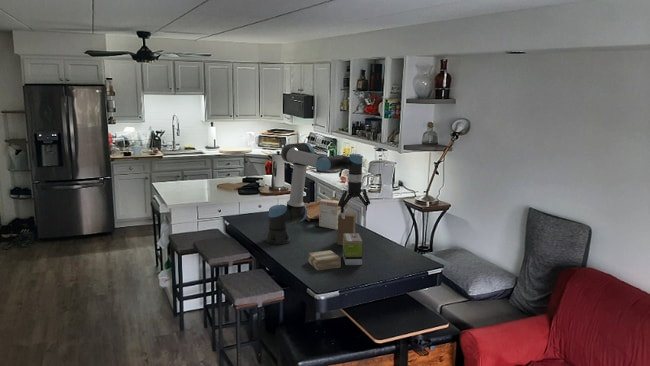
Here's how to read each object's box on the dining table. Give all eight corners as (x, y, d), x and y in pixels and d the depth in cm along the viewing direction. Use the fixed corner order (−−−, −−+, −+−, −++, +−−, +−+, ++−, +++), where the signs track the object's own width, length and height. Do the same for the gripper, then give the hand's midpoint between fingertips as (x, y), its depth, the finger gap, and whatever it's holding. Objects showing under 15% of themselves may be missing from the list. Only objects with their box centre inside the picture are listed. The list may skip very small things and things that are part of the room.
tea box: (341, 256, 302) (342, 232, 299) (358, 256, 303) (359, 232, 300) (345, 265, 288) (345, 240, 285) (362, 265, 288) (363, 240, 286)
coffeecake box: (341, 227, 363) (342, 201, 359) (336, 229, 357) (337, 203, 353) (323, 224, 370) (324, 198, 367) (318, 226, 364) (319, 200, 361)
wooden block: (352, 246, 321) (353, 216, 317) (337, 245, 323) (338, 215, 319) (354, 241, 331) (355, 212, 327) (339, 240, 333) (340, 211, 329)
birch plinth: (308, 262, 291) (308, 252, 290) (330, 259, 297) (330, 250, 296) (317, 271, 279) (318, 260, 277) (340, 267, 284) (340, 257, 283)
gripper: (338, 183, 277) (337, 220, 282) (377, 181, 288) (375, 216, 292) (332, 181, 284) (331, 217, 288) (370, 178, 295) (369, 213, 299)
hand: (353, 217), depth 290 cm, fingers open, 13 cm apart
